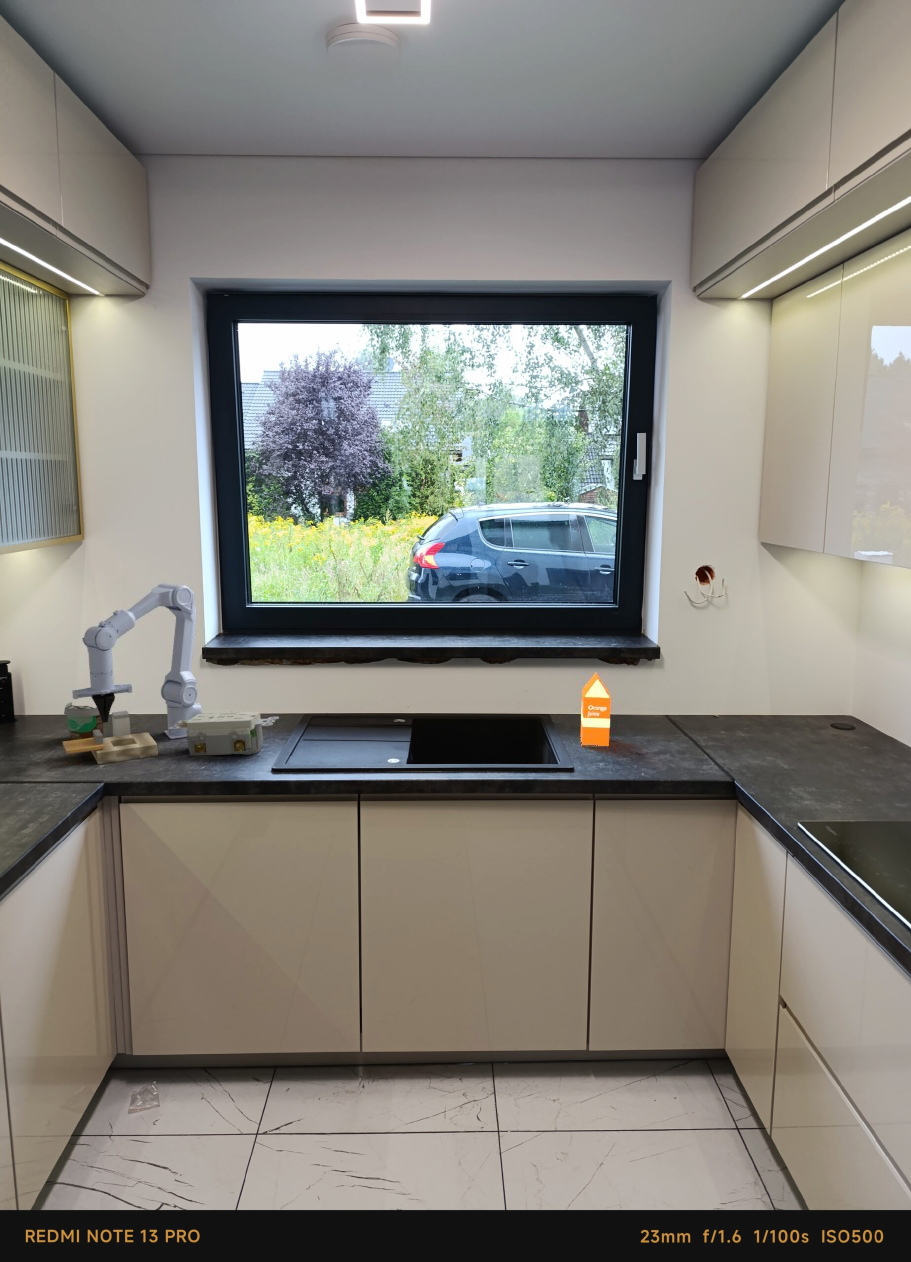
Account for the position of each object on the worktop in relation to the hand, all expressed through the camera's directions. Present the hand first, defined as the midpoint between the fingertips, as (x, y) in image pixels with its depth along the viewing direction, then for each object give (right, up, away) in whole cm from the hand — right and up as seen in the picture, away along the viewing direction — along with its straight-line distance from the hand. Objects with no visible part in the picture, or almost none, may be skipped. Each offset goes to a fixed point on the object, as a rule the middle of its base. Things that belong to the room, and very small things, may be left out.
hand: (104, 721), depth 224 cm
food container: (-12, -7, +14) cm, 20 cm away
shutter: (-5, -6, -2) cm, 8 cm away
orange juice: (+134, -8, +18) cm, 135 cm away
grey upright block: (-1, -7, +15) cm, 16 cm away
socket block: (+4, -9, +4) cm, 10 cm away
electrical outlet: (+31, -9, +7) cm, 32 cm away
